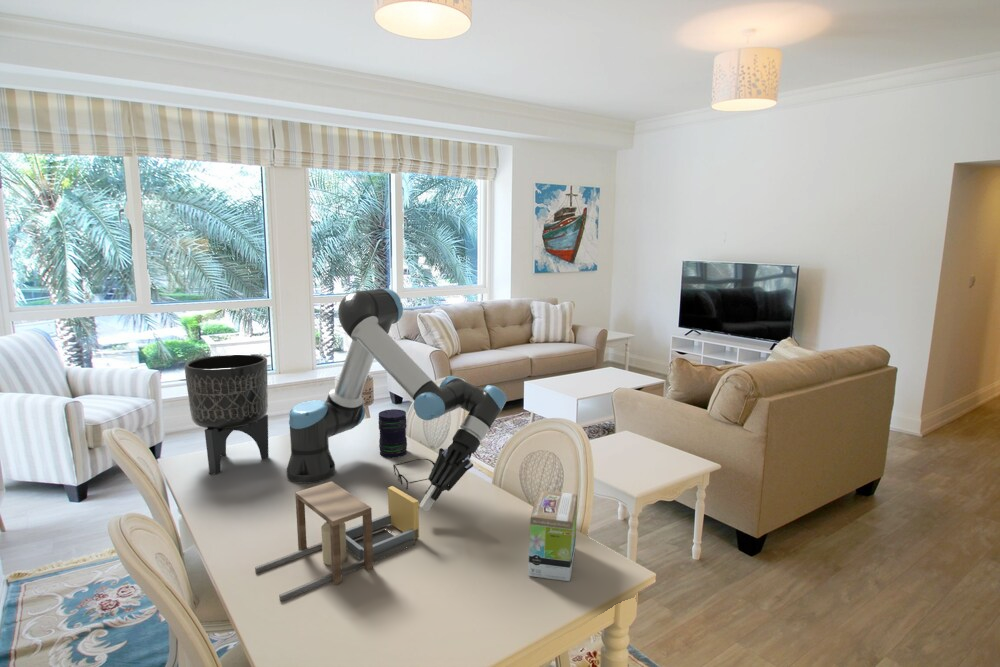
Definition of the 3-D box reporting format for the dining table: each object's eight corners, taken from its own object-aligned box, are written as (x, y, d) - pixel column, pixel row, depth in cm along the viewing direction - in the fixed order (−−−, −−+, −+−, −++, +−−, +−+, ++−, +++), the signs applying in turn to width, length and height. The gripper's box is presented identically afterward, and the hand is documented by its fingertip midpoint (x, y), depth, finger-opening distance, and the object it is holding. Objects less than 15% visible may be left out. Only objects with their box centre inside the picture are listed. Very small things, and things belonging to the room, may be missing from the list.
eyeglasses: (391, 474, 187) (390, 462, 186) (436, 466, 194) (436, 455, 193) (406, 494, 173) (406, 481, 172) (454, 484, 180) (454, 472, 179)
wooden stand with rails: (251, 567, 133) (247, 506, 130) (379, 520, 155) (377, 467, 153) (285, 606, 118) (281, 539, 116) (420, 548, 141) (419, 490, 139)
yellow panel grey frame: (338, 541, 143) (336, 504, 142) (393, 520, 154) (392, 486, 153) (362, 561, 135) (360, 521, 133) (419, 537, 145) (418, 500, 144)
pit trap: (346, 543, 143) (345, 542, 143) (385, 528, 151) (385, 527, 151) (365, 558, 136) (365, 558, 136) (406, 542, 144) (406, 541, 144)
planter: (180, 463, 195) (171, 361, 189) (251, 443, 213) (245, 351, 208) (212, 483, 179) (204, 373, 173) (286, 460, 198) (281, 360, 192)
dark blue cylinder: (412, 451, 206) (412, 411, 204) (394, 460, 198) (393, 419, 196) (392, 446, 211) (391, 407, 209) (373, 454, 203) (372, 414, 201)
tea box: (571, 582, 128) (573, 521, 125) (527, 577, 130) (528, 516, 127) (576, 547, 142) (577, 492, 140) (536, 543, 144) (537, 488, 142)
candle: (339, 550, 140) (337, 512, 139) (351, 559, 136) (349, 520, 135) (318, 559, 136) (316, 520, 135) (329, 568, 132) (328, 528, 131)
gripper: (492, 447, 159) (446, 523, 150) (462, 436, 168) (417, 506, 159) (478, 433, 154) (429, 510, 146) (448, 422, 164) (401, 494, 155)
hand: (423, 508), depth 153 cm, fingers closed
